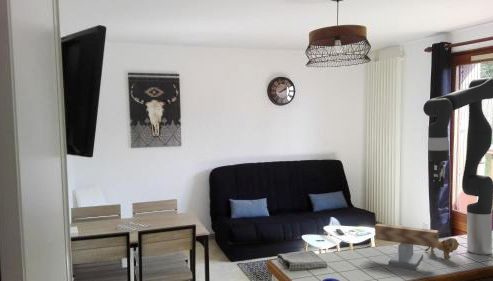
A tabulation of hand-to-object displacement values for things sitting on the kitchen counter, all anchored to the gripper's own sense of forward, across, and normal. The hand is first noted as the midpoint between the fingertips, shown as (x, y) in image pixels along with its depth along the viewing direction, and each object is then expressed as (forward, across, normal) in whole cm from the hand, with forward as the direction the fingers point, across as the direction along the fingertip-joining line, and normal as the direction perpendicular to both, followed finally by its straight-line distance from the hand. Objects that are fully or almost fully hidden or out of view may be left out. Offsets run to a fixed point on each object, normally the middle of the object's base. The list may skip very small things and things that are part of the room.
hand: (439, 189), depth 158 cm
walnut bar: (+22, -5, +12) cm, 26 cm away
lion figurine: (+30, +8, 0) cm, 32 cm away
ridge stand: (+30, -5, +12) cm, 33 cm away
